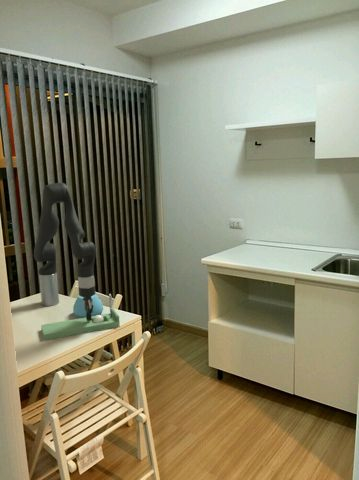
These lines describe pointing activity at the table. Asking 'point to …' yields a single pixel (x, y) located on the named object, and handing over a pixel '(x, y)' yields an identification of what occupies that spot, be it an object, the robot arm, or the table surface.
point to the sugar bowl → (80, 310)
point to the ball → (98, 319)
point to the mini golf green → (78, 326)
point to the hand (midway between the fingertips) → (89, 320)
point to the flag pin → (110, 305)
